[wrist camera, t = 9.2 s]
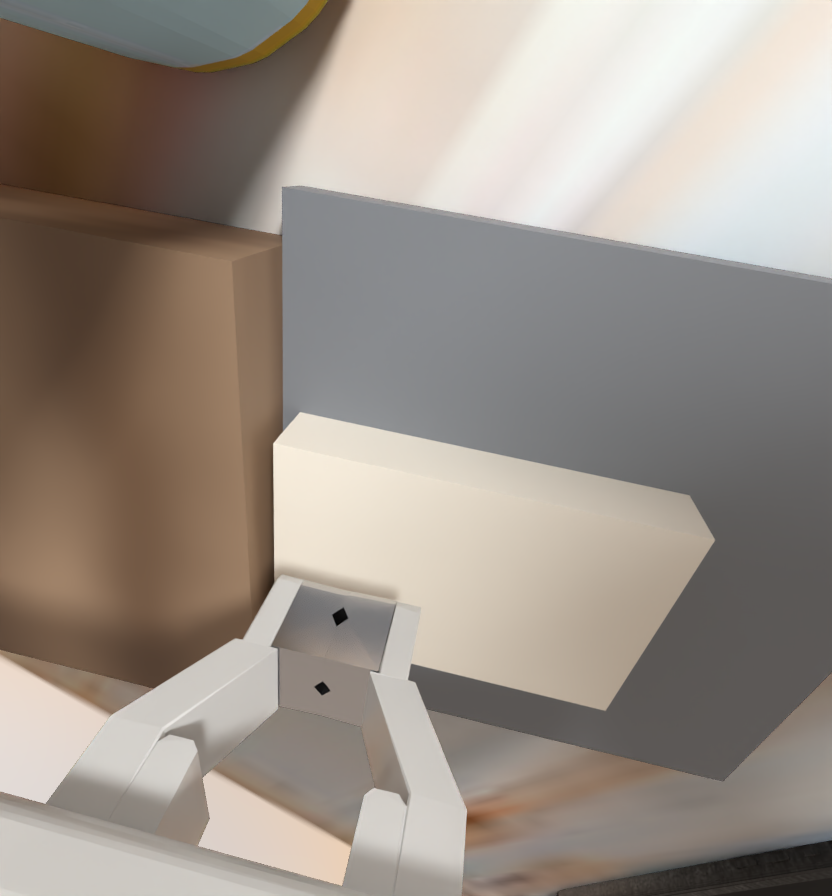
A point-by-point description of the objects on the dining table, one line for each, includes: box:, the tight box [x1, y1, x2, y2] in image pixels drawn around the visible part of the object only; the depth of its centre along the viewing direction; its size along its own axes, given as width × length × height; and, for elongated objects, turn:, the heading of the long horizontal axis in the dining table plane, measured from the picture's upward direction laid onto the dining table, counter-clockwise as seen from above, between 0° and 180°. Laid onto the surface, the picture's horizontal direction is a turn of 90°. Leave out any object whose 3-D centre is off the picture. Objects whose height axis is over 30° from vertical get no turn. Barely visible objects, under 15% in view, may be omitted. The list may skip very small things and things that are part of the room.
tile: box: [273, 412, 715, 711], centre depth 12 cm, size 9×6×2 cm, turn 81°
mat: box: [282, 186, 832, 781], centre depth 13 cm, size 15×15×1 cm
